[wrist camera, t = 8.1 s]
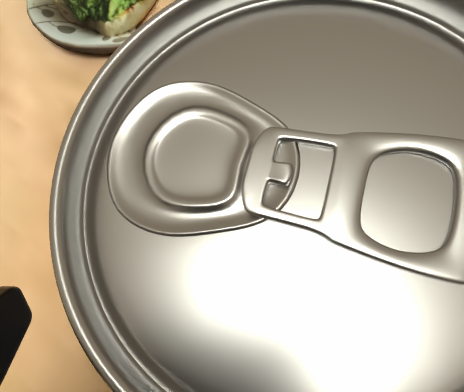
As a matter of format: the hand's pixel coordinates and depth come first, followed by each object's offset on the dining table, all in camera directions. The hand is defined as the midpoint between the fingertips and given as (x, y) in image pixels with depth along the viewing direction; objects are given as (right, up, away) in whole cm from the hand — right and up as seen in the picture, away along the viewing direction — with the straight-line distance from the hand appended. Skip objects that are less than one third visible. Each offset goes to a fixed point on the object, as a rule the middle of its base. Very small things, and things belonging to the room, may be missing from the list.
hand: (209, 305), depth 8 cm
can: (+3, -1, +7) cm, 8 cm away
